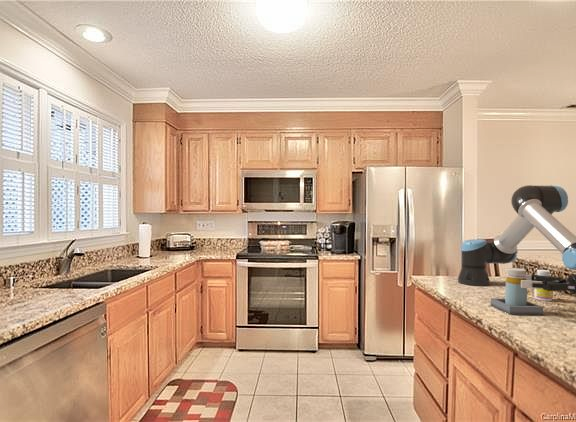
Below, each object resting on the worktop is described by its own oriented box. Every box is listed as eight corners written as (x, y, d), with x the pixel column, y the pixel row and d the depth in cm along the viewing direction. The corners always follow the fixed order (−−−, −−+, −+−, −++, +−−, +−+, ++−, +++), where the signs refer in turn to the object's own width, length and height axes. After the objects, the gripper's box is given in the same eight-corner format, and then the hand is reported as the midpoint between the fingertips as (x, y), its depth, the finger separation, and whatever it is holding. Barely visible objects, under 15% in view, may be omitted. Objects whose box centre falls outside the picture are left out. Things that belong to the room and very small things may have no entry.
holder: (490, 305, 144) (490, 298, 144) (521, 305, 144) (521, 298, 144) (509, 314, 131) (509, 306, 131) (542, 315, 131) (542, 307, 131)
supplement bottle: (556, 302, 150) (556, 272, 150) (538, 301, 152) (539, 271, 152) (547, 298, 157) (548, 269, 157) (531, 297, 158) (531, 268, 158)
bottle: (507, 303, 143) (508, 267, 142) (528, 307, 138) (529, 269, 137) (503, 307, 138) (503, 269, 137) (524, 311, 133) (525, 271, 133)
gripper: (599, 303, 118) (525, 297, 125) (570, 288, 141) (509, 283, 149) (599, 281, 118) (525, 276, 125) (570, 269, 141) (509, 266, 149)
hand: (516, 280), depth 137 cm, fingers open, 13 cm apart
